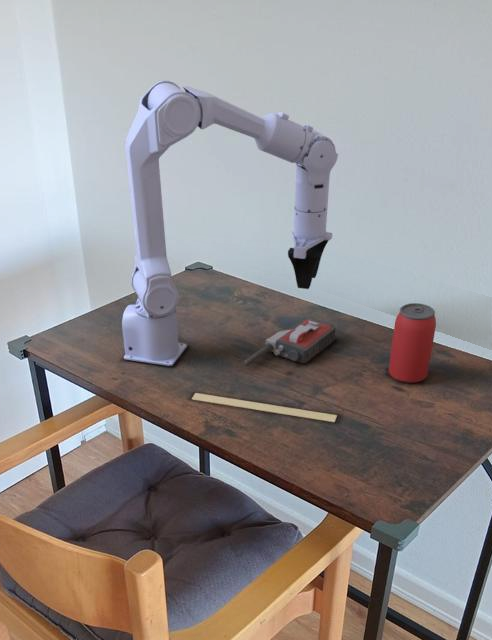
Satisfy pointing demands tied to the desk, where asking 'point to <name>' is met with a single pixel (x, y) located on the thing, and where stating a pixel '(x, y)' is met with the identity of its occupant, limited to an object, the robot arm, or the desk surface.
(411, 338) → the beer can
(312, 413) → the tape line
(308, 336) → the walkie-talkie
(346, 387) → the desk surface
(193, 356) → the desk surface
